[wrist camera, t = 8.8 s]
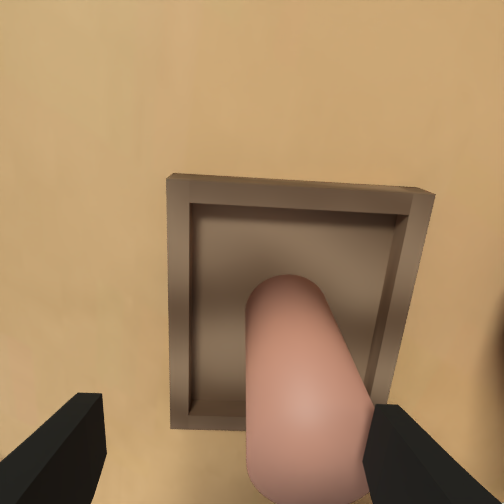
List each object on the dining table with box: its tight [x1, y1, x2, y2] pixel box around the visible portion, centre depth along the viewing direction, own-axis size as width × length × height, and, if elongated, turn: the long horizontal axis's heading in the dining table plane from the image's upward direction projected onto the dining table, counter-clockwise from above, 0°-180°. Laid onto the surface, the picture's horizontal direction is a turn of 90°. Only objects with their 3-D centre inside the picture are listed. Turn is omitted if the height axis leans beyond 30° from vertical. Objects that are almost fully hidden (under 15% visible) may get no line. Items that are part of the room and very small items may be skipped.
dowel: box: [245, 274, 375, 504], centre depth 15 cm, size 4×4×9 cm
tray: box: [166, 173, 436, 431], centre depth 19 cm, size 14×12×2 cm
